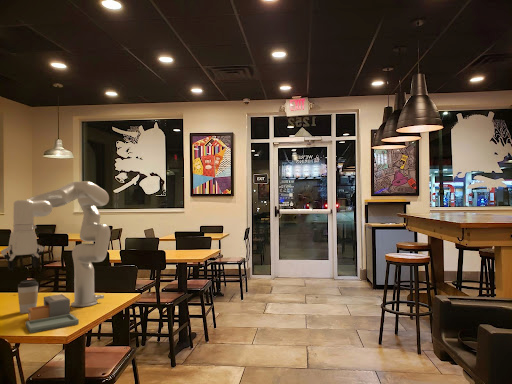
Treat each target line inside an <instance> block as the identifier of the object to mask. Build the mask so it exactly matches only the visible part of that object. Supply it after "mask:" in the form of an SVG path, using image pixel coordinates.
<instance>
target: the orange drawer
mask: <svg viewBox="0 0 512 384" xmlns="http://www.w3.org/2000/svg"><path fill="white" fill-rule="evenodd" d="M27 311H28V313H27V314H28V315H27V319H28V321H31V320H37V319H43V318H49V305H45V306H44V305H39V306H36V307H32V308H28V310H27Z"/></svg>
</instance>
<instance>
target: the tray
mask: <svg viewBox="0 0 512 384" xmlns="http://www.w3.org/2000/svg"><path fill="white" fill-rule="evenodd" d="M79 320H80V319H79V318H77V317H76V316H75V315H74V314H72V313H70V314H67V315H61V316H55V317H49V318H43V319H37V320H31V321H30V320H27V321H25V328H26V329H27V330H28V332H29V333H30V334H33V333H35V334H36V333H38V332H43V331H44V332H45V331H50V330H54V329H55V330H56V329H60V328H66V327H71V326H72V327H73V326H76V325H79Z"/></svg>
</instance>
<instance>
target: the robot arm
mask: <svg viewBox="0 0 512 384" xmlns="http://www.w3.org/2000/svg"><path fill="white" fill-rule="evenodd" d="M75 200H77V203H78V204H79V206H80V208H81V210H82V213H83V217H82V223H81V226H80V231H79V238H80V240H81V241H83V242H87V243H80V244H79V243H78V244H77V245H74V247H73V249H72V251H71V256H72V260H73V261H72V262H73V268H74V269H73V271H74V275H73V277H74V279H73V280H74V281H73V283H74V285H73V286H74V288H73V289H74V295H73V296H74V299H73V300H74V301H73V302H70V307H73V308H84V307H86V308H87V307H90V306H91V307H92V306H95V305H97V304H98V300H100V299H101V300H102V299H104V298H105V295H104V294H98V295H97V294H95V268H94V265H93V263H100V262H103V261H104V260H105V259H106V258H107V253H108V251H109V244H110V239H111V229H110V226H109V225H108V224H107V223H106V224H105V223H100V221H101V213H100V211H99V209H98V208H97V207H104V206H106V205H107V204H108V203H109V201H110V196H109V193H108V192H107V191H106V190H105V189H103V188H102V187H100V186H99V185H98V184H96V183H93V182H92V181H89V180H84V181H80V180H79V181H72V182H70V183H67V184H65V185H63V186H61V187H59V188H57V189H53V190H50V191H46V192H43V193H40V194H37V195H34V196H31V197H29V198H27V199H24V200H23V199H21V200H19V199H18V200H15V201H14V202H13V215H12V216H13V217H12V218H13V220H12V221H13V224H12V225H13V229H12V230H13V231H12V232H10V235H9V236H10V237H9V241H8V246H7V247H5V248H3V249H2V250H1V251H0V253H1V255H2V257H3V258H4V259H5V260H6V261H7V269H8V271H14V270H15V260H14V259H15V257H16V256H26V255H31V256H32V258H31V259H32V260H31V261H32V262H31V263H32V267H33V268H38V265H39V258H40V256H41V255H43V252H44V251H45V246H42V245H40V244H38V241H37V240H38V239H37V234H36V231H34V230H35V229H37V225H35V224H34V223H35V222H34V217H35V218H36V217H37V218H39V217H41V218H42V217H47V216H48V215H50V214H51V213H52V212H53V209H54V208H60V207H62V206H66V205H67V204H69V203H71V202H73V201H75ZM89 242H92V243H89ZM93 242H95V243H93ZM7 253H8V254H7Z"/></svg>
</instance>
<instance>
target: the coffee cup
mask: <svg viewBox="0 0 512 384" xmlns="http://www.w3.org/2000/svg"><path fill="white" fill-rule="evenodd" d="M17 290H18V291H17V296H18V305H19V313H20V314H28V311H27V310H28V308H32V307H38V306H37V304H38V297H39V296H38V295H39V282H37V280H29V279H25V280H22V281H20V283H19V284H18V283H17Z"/></svg>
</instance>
